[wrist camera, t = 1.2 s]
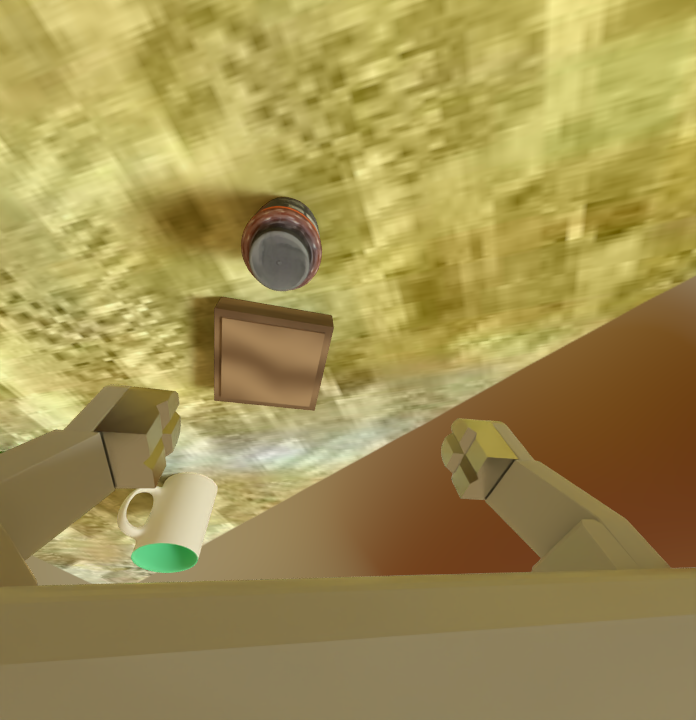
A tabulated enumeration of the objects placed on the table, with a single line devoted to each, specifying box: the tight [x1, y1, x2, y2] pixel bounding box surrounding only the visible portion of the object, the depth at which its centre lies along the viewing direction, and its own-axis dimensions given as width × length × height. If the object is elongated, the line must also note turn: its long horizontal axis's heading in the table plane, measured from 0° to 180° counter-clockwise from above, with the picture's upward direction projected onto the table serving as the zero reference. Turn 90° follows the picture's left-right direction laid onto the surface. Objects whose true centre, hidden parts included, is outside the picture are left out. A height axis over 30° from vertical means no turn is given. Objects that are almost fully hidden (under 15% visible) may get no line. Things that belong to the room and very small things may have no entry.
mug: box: [117, 472, 217, 573], centre depth 43 cm, size 12×8×10 cm, turn 46°
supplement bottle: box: [241, 197, 322, 291], centre depth 25 cm, size 6×6×11 cm
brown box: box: [214, 297, 334, 410], centre depth 35 cm, size 12×12×3 cm
